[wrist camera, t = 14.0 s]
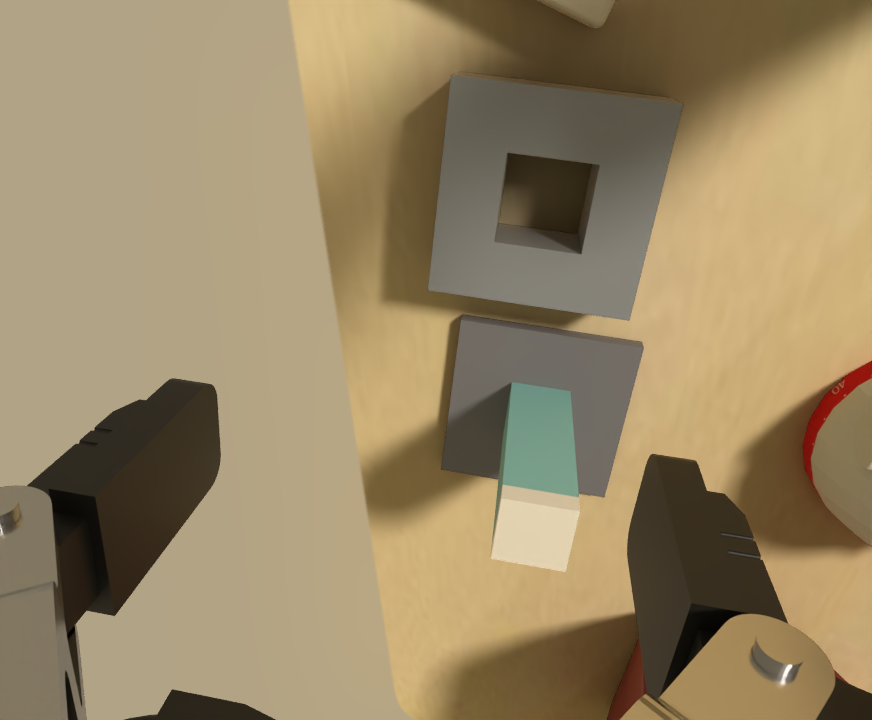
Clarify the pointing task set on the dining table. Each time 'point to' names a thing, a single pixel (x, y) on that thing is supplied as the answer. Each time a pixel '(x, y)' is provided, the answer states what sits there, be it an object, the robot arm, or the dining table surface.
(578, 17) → the electrical outlet
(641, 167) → the grey square socket block
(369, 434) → the dining table surface
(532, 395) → the plug
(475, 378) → the mat
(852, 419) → the kitchen timer
